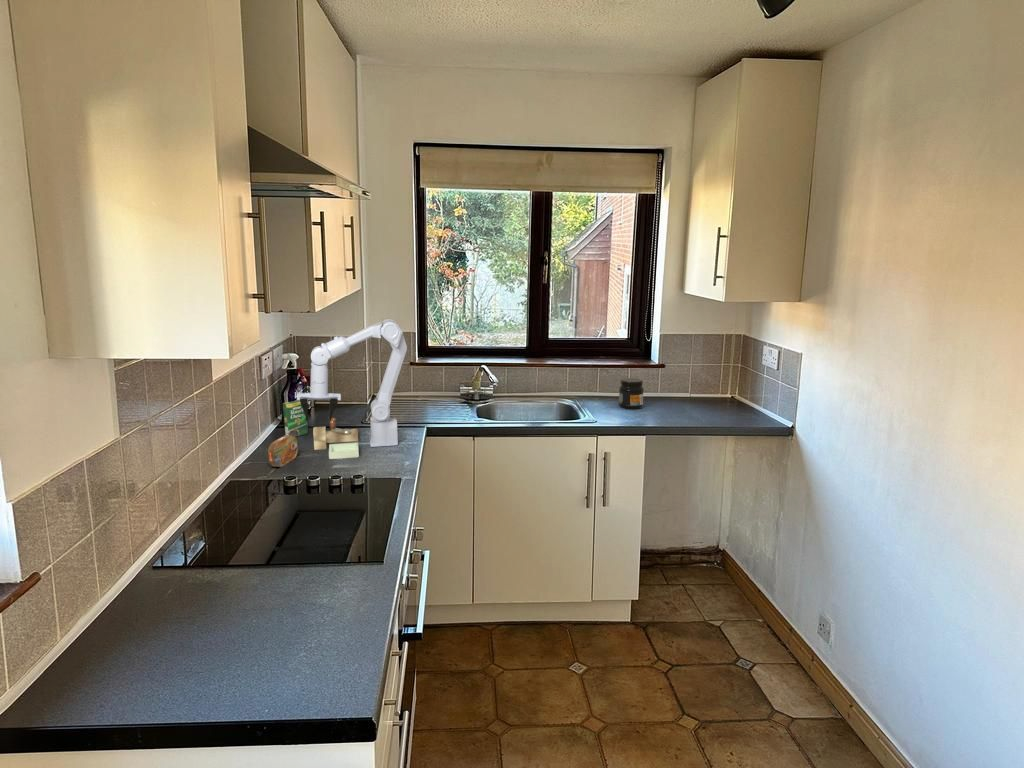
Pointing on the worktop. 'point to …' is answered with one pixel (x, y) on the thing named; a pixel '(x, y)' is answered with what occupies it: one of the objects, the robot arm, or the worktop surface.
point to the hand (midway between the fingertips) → (318, 420)
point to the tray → (343, 450)
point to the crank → (334, 429)
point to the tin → (283, 450)
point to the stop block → (319, 438)
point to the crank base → (341, 436)
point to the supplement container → (631, 393)
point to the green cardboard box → (294, 419)
